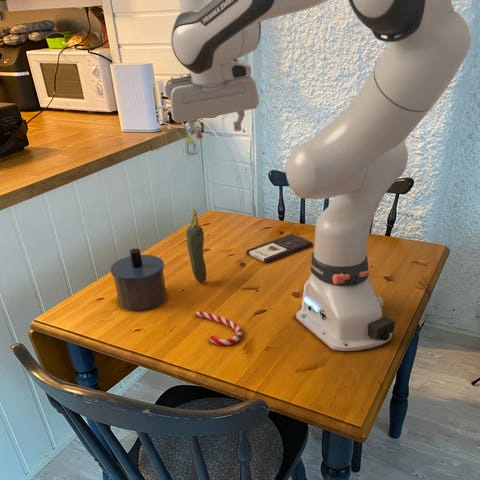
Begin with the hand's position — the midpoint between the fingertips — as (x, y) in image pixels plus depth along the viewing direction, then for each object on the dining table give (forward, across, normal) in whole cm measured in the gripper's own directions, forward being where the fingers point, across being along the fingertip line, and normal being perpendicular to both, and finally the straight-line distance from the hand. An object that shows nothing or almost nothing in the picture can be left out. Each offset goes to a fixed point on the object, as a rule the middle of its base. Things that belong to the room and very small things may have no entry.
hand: (218, 133), depth 111 cm
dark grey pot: (+30, -27, -17) cm, 44 cm away
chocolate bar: (+37, +14, +2) cm, 40 cm away
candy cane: (+29, -11, -35) cm, 47 cm away
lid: (+22, -26, -16) cm, 37 cm away
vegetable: (+32, -12, -13) cm, 37 cm away
